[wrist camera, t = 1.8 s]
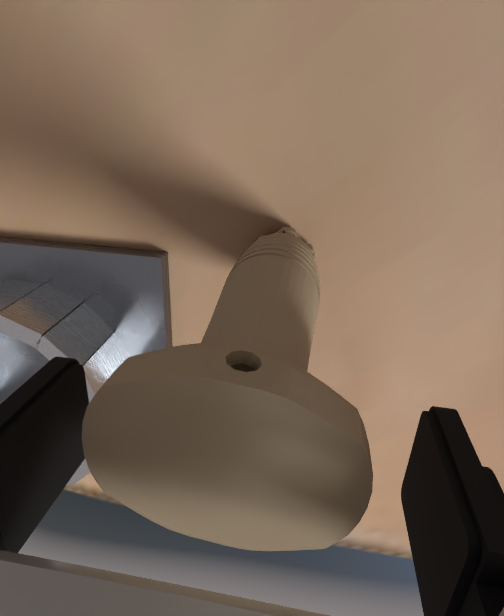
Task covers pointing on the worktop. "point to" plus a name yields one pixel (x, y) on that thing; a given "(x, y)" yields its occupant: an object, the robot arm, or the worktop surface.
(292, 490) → the handle
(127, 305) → the duct collar
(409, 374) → the worktop surface
